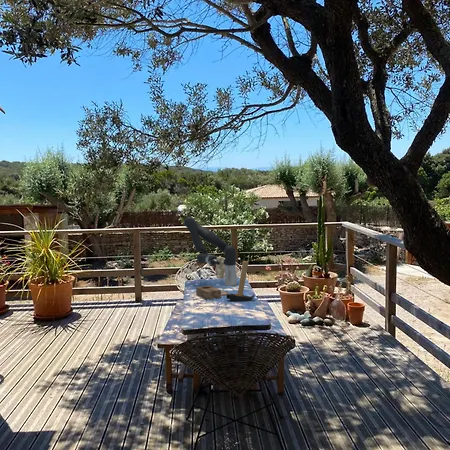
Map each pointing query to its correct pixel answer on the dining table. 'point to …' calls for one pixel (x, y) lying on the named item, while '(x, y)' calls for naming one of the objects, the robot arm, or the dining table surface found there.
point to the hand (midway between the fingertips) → (221, 263)
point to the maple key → (220, 268)
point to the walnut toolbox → (208, 292)
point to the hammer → (241, 286)
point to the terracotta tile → (223, 293)
